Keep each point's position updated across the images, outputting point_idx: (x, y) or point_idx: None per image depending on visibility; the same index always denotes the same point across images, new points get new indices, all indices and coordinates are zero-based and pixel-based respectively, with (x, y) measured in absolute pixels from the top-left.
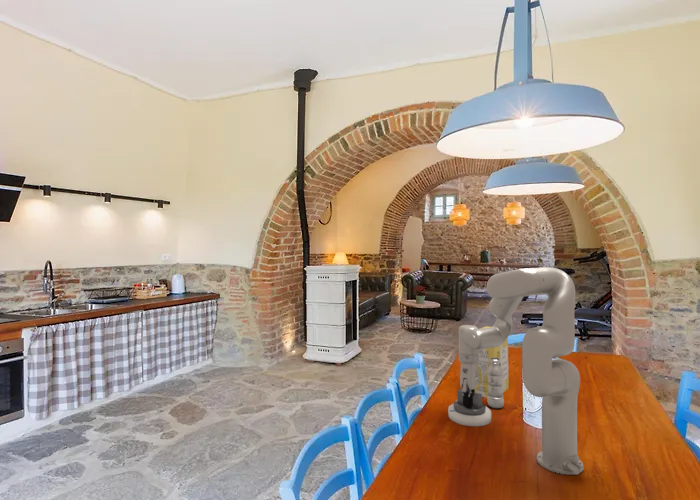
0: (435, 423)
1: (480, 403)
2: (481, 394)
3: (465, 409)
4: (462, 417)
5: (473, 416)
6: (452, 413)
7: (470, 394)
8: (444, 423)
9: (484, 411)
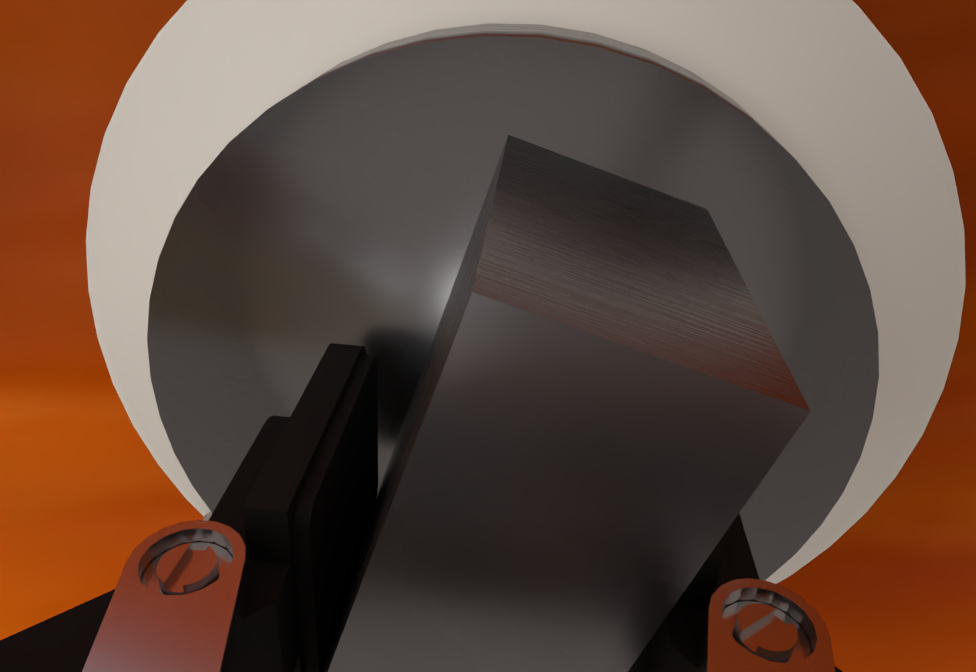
0: (906, 637)
1: (586, 203)
2: (498, 303)
3: (795, 452)
4: (922, 414)
5: (855, 238)
6: (787, 571)
7: (746, 650)
8: (877, 555)
9: (595, 38)
